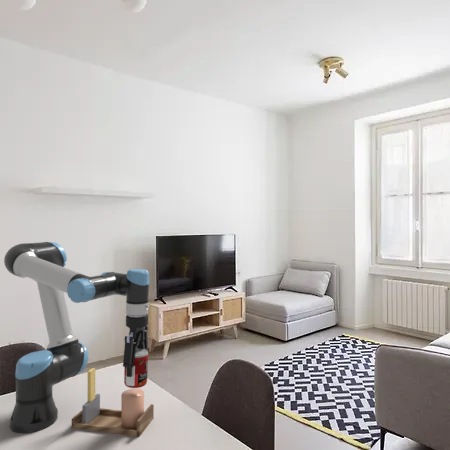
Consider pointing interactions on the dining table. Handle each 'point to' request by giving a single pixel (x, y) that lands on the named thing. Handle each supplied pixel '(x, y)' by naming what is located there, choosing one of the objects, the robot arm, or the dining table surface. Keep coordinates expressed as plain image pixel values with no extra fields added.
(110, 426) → the brown wooden tray
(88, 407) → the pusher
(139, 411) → the peach rounded capsule
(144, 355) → the canned food
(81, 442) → the dining table surface
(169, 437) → the dining table surface
